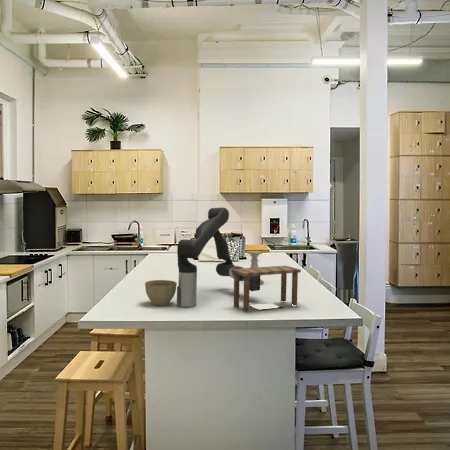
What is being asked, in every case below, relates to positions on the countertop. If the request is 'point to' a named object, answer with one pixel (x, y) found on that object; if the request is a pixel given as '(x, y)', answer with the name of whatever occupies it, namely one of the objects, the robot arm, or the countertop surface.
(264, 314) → the countertop surface
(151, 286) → the planter bowl
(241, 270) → the low shelf
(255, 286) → the box
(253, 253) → the candle holder
